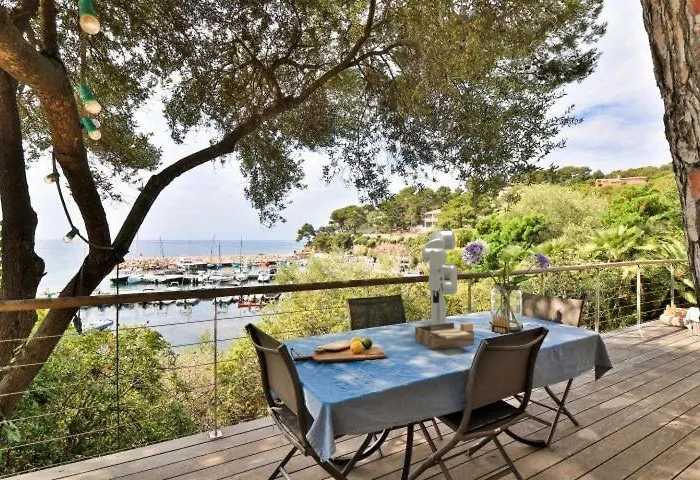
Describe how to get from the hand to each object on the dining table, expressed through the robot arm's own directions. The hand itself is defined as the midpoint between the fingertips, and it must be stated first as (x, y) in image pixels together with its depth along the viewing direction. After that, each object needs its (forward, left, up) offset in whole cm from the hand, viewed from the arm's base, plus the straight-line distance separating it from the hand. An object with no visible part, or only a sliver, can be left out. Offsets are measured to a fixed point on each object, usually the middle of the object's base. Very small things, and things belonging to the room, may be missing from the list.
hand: (436, 302), depth 250 cm
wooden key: (+10, +14, -15) cm, 23 cm away
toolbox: (+2, +3, -23) cm, 23 cm away
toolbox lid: (+15, -1, -15) cm, 21 cm away
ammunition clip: (0, +48, -23) cm, 54 cm away
